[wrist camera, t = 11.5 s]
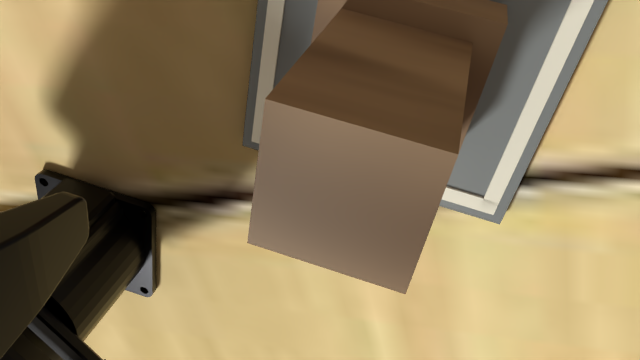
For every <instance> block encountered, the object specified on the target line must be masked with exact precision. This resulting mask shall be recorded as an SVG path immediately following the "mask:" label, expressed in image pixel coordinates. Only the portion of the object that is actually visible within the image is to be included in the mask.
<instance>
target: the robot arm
mask: <svg viewBox="0 0 640 360" xmlns="http://www.w3.org/2000/svg"><path fill="white" fill-rule="evenodd" d="M35 183H36V189H37V195H38V200H36V201H33V202H30V203H27V204H24V205H21V206H18V207H15V208H12V209H9V210H6V211H3V212H0V360H103V359H102V358H100V357H99V356H98V355H97V354H96V353H95V352H94V351H93V350H92V349H91V348H90V347H89V346H88V345H87V344H86V343H84V342H83V341H84V340H85V339H86V338H87V336H88V335H89V334H90V333H91V331H92V330H93V329H94V328H95V326H96V325H97V324H98V323H99V321H100V320H101V319H102V318H103V316H104V315H105V314H106V313H107V311H108V310H109V309H110V308H111V306H112V305H113V304H114V303H115V301H116V300H117V299H118V298H119V296H120V295H121V294H122V293H123V291H124V290H127V291H130V292H133V293H136V294H139V295H142V296H145V297H150V296H152V294H153V293H154V292H155V290H156V212H155V209H154V207H153V206H152V205H150V204H149V203H147V202H144V201H141V200H138V199H134V198H131V197H128V196H125V195H122V194H119V193H116V192H113V191H110V190H107V189H104V188H101V187H98V186H95V185H92V184H89V183H86V182H83V181H79V180H76V179H73V178H70V177H67V176H64V175H61V174H58V173H55V172H52V171H49V170H42V171H41V172H39V173H38V174H37V175H36V176H35ZM143 211H144V212H145V213H144V212H143ZM105 360H106V359H105Z"/></svg>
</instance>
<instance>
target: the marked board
mask: <svg viewBox="0 0 640 360" xmlns="http://www.w3.org/2000/svg"><path fill="white" fill-rule="evenodd" d="M490 1H494V2H498V3H502V4H505V5H507V15H508V25H507V28H506V30H505V33H504V36H503V38H502V41H501V44H500V46H499V49H498V51H497V54H496V57H495V59H494V62H493V65H492V67H491V70H490V73H489V75H488V78H487V80H486V83H485V86H484V88H483V91H482V94H481V96H480V99H479V101H478V104H477V107H476V109H475V112H474V115H473V117H472V120H471V123H470V125H469V128H468V130H467V133H466V136H465V138H464V141H463V144H462V146H461V149H460V151H459V154H458V157H457V160H456V162H455V165H454V168H453V170H452V173H451V176H450V178H449V181H448V183H447V186H446V189H445V191H444V194H443V197H442V199H441V202H440V205H439V206H442V207H445V208H448V209H451V210H455V211H458V212H461V213H464V214H468V215H471V216H474V217H478V218H481V219H484V220H487V221H491V222H494V223H497V224H500V223H501V221H502V219H503V217H504V215H505V212H506V210H507V208H508V206H509V204H510V202H511V200H512V198H513V196H514V194H515V192H516V190H517V188H518V186H519V184H520V182H521V179H522V177H523V175H524V173H525V171H526V169H527V167H528V165H529V163H530V161H531V159H532V157H533V155H534V153H535V151H536V148H537V146H538V144H539V142H540V140H541V138H542V136H543V134H544V132H545V130H546V128H547V126H548V124H549V122H550V120H551V117H552V115H553V113H554V111H555V109H556V107H557V105H558V103H559V101H560V99H561V97H562V95H563V93H564V91H565V89H566V87H567V84H568V82H569V80H570V78H571V76H572V74H573V72H574V70H575V68H576V66H577V64H578V62H579V60H580V58H581V56H582V53H583V51H584V49H585V47H586V45H587V43H588V41H589V39H590V37H591V35H592V33H593V31H594V29H595V27H596V25H597V22H598V20H599V18H600V16H601V14H602V12H603V10H604V8H605V6H606V4H607V2H608V0H490ZM317 4H318V0H258V5H257V14H256V23H255V33H254V42H253V51H252V61H251V70H250V79H249V89H248V98H247V107H246V117H245V126H244V135H243V146H246V147H249V148H252V149H256V150H259V144H260V136H261V128H262V119H263V111H264V103H265V98H266V97H267V96H268V95H269V94H270V92H271V91H272V90H273V89H274V88H275V86H276V85H277V84H278V83H279V82H280V80H281V79H282V78H283V77H284V76H285V75H286V73H287V72H288V71H289V70H290V69H291V67H292V66H293V65H294V64H295V63H296V62H297V60H298V59H299V58H300V57H301V56H302V54H303V53H304V52H305V51H306V50H307V49H308V47H309V46H310V45H311V40H312V34H313V28H314V22H315V16H316V10H317Z"/></svg>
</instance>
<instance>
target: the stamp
mask: <svg viewBox="0 0 640 360" xmlns="http://www.w3.org/2000/svg"><path fill="white" fill-rule="evenodd" d="M507 25H508V15H507V5H505V4H502V3H498V2H494V1H490V0H318V4H317V10H316V16H315V22H314V28H313V34H312V40H311V45H310V46H309V47H308V49H307V50H306V51H305V52H304V53H303V54H302V56H301V57H300V58H299V59H298V60H297V62H296V63H295V64H294V65H293V66H292V67H291V69H290V70H289V71H288V72H287V73H286V75H285V76H284V77H283V78H282V79H281V80H280V82H279V83H278V84H277V85H276V86H275V88H274V89H273V90H272V91H271V92H270V94H269V95H268V96H267V97H266V98H265V103H264V111H263V119H262V128H261V136H260V144H259V152H258V160H257V168H256V177H255V185H254V193H253V201H252V209H251V217H250V226H249V234H248V242H247V243H249V244H252V245H255V246H259V247H262V248H265V249H268V250H271V251H274V252H277V253H280V254H283V255H286V256H289V257H292V258H296V259H299V260H302V261H305V262H308V263H311V264H314V265H317V266H320V267H323V268H326V269H329V270H332V271H336V272H339V273H342V274H345V275H348V276H351V277H354V278H357V279H360V280H363V281H366V282H369V283H373V284H376V285H379V286H382V287H385V288H388V289H391V290H394V291H397V292H400V293H403V294H406V291H407V289H408V286H409V283H410V281H411V278H412V276H413V273H414V270H415V268H416V265H417V262H418V260H419V257H420V254H421V252H422V249H423V247H424V244H425V241H426V239H427V236H428V233H429V231H430V228H431V226H432V223H433V220H434V218H435V215H436V212H437V210H438V207H439V205H440V202H441V199H442V197H443V194H444V191H445V189H446V186H447V183H448V181H449V178H450V176H451V173H452V170H453V168H454V165H455V162H456V160H457V157H458V154H459V151H460V149H461V146H462V144H463V141H464V138H465V136H466V133H467V130H468V128H469V125H470V123H471V120H472V117H473V115H474V112H475V109H476V107H477V104H478V101H479V99H480V96H481V94H482V91H483V88H484V86H485V83H486V80H487V78H488V75H489V73H490V70H491V67H492V65H493V62H494V59H495V57H496V54H497V51H498V49H499V46H500V44H501V41H502V38H503V36H504V33H505V30H506V28H507Z"/></svg>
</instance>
